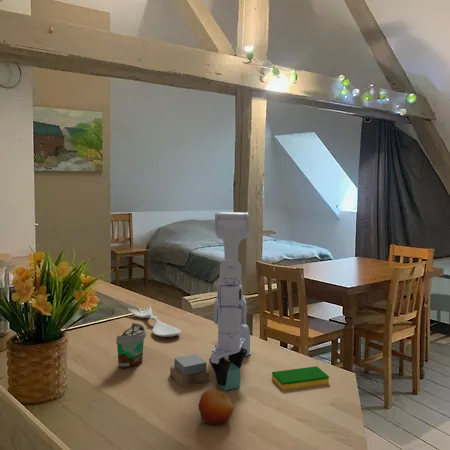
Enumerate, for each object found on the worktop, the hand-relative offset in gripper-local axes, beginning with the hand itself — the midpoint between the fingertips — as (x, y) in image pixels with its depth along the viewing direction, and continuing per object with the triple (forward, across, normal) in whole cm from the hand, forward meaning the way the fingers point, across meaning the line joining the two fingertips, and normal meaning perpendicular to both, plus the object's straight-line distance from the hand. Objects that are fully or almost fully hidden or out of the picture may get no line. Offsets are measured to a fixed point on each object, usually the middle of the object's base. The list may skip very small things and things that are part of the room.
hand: (228, 380), depth 135 cm
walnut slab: (+2, +2, -11) cm, 12 cm away
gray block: (-1, +2, -11) cm, 11 cm away
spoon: (+2, -26, -46) cm, 53 cm away
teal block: (+1, 0, 0) cm, 1 cm away
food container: (+2, +2, -30) cm, 30 cm away
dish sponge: (+2, -13, +15) cm, 20 cm away
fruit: (+2, +16, +7) cm, 18 cm away
